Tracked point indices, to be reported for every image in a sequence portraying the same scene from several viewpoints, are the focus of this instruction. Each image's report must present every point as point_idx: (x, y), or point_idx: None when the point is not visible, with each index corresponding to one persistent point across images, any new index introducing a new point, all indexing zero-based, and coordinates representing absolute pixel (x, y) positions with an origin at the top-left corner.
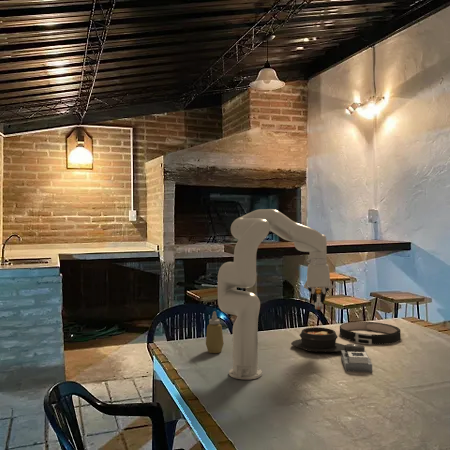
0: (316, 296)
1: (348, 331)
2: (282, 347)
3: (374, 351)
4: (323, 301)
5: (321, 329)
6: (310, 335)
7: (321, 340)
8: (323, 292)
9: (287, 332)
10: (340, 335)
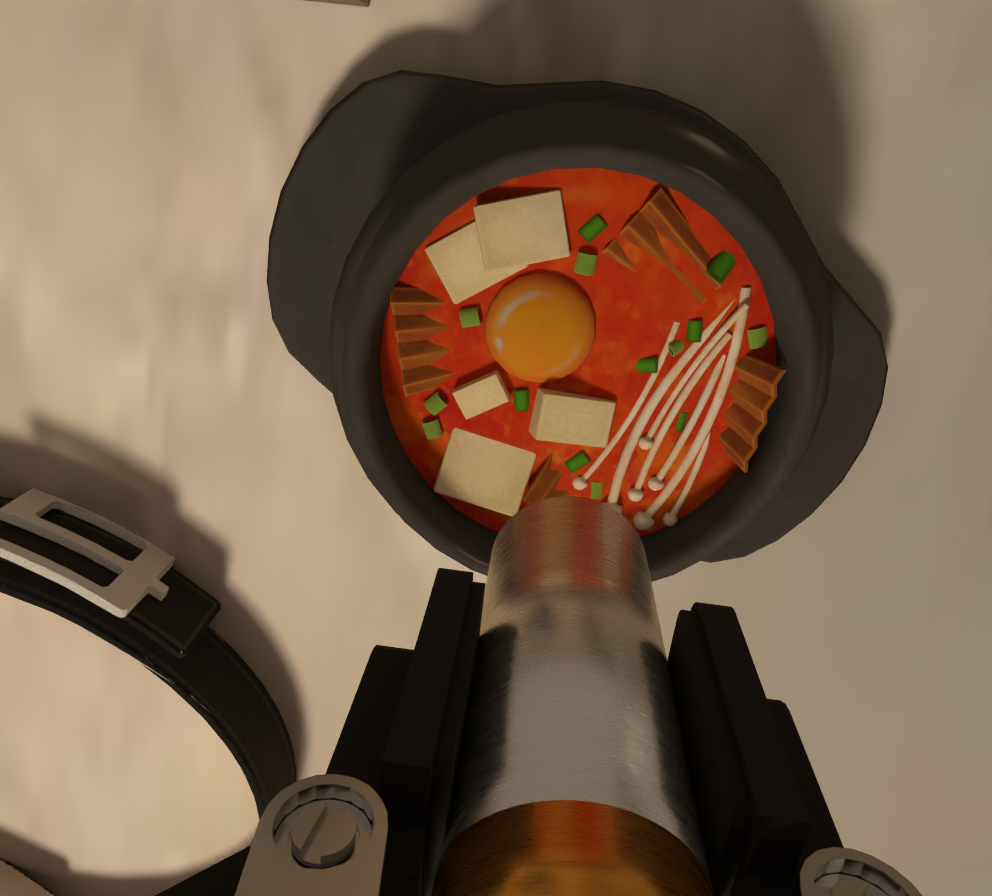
0: (664, 753)
1: (197, 699)
2: (962, 400)
3: (7, 254)
4: (435, 583)
5: None
6: (736, 188)
7: (582, 103)
8: (358, 854)
9: None
10: (291, 755)
